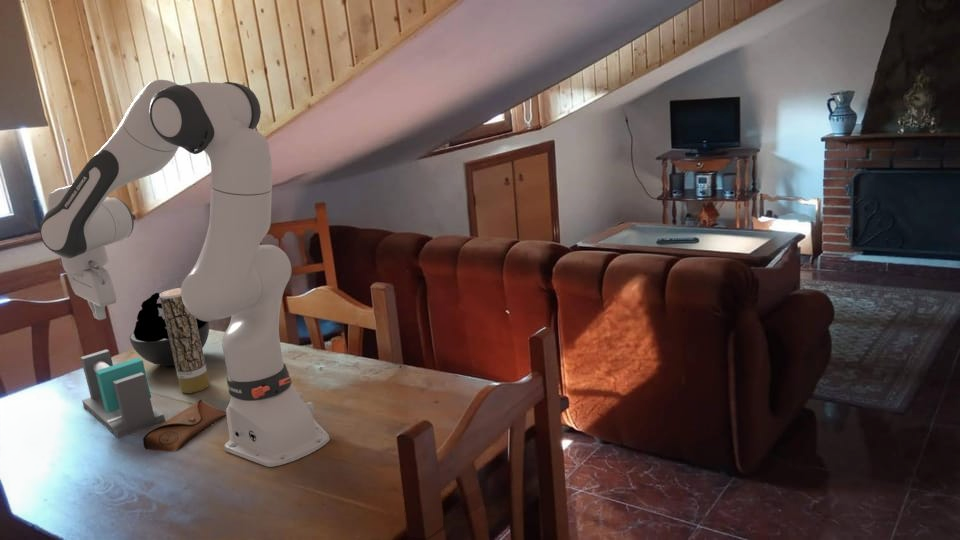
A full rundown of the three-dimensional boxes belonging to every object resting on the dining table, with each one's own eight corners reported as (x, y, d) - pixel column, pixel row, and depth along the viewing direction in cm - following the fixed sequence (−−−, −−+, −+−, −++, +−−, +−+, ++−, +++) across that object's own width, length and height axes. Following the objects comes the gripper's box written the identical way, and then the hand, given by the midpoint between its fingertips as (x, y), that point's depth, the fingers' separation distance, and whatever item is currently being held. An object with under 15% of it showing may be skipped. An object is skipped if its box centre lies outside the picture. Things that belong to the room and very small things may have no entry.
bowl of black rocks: (211, 369, 193) (197, 301, 188) (130, 383, 189) (113, 314, 184) (219, 344, 212) (206, 281, 207) (145, 356, 208) (130, 293, 203)
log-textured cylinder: (203, 393, 179) (182, 295, 172) (176, 395, 179) (154, 297, 172) (213, 381, 185) (194, 286, 179) (187, 383, 186) (166, 289, 179)
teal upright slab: (151, 397, 168) (142, 360, 166) (109, 412, 162) (99, 374, 160) (146, 394, 170) (138, 357, 168) (104, 409, 164) (95, 371, 162)
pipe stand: (165, 420, 166) (153, 371, 163) (118, 438, 160) (106, 387, 156) (126, 391, 185) (115, 346, 182) (83, 406, 178) (71, 360, 175)
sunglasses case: (176, 452, 150) (157, 426, 150) (156, 465, 153) (137, 439, 153) (231, 412, 167) (214, 388, 166) (213, 425, 170) (196, 401, 169)
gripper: (115, 260, 156) (130, 321, 160) (86, 251, 171) (101, 307, 175) (83, 268, 152) (99, 330, 156) (57, 257, 167) (72, 315, 171)
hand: (100, 318), depth 165 cm, fingers closed
